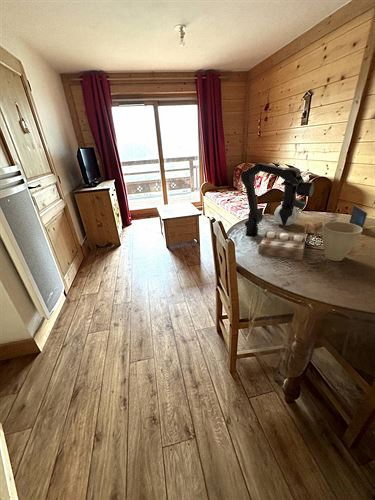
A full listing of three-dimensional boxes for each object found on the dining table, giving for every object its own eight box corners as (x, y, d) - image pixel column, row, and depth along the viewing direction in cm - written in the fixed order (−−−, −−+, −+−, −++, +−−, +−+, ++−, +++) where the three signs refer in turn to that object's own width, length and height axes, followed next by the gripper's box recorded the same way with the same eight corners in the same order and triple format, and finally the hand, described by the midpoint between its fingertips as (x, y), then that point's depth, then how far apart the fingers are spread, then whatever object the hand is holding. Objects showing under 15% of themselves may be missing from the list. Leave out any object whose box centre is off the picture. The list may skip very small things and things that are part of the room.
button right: (292, 243, 115) (293, 237, 114) (293, 240, 119) (294, 234, 117) (301, 244, 113) (302, 238, 112) (302, 241, 117) (303, 235, 115)
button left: (265, 239, 122) (266, 234, 120) (267, 236, 125) (267, 231, 124) (273, 240, 120) (274, 234, 118) (275, 237, 123) (275, 232, 122)
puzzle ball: (271, 226, 146) (273, 205, 139) (275, 220, 157) (278, 199, 151) (295, 229, 139) (299, 207, 132) (298, 222, 150) (302, 201, 143)
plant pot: (338, 268, 96) (347, 235, 89) (309, 255, 109) (315, 225, 101) (360, 259, 101) (370, 228, 94) (330, 248, 113) (337, 219, 106)
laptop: (327, 223, 144) (332, 204, 138) (349, 224, 141) (355, 204, 135) (336, 234, 129) (342, 213, 123) (361, 234, 126) (368, 213, 120)
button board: (258, 253, 115) (258, 244, 112) (266, 237, 131) (267, 230, 129) (302, 260, 105) (303, 251, 103) (304, 242, 122) (306, 234, 120)
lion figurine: (325, 236, 127) (329, 221, 123) (321, 238, 125) (324, 223, 121) (302, 229, 138) (304, 216, 134) (297, 231, 136) (299, 218, 132)
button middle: (278, 241, 118) (279, 235, 117) (279, 238, 122) (280, 232, 120) (287, 242, 116) (288, 236, 115) (288, 239, 120) (289, 233, 118)
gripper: (306, 199, 101) (300, 230, 108) (307, 190, 116) (301, 218, 123) (281, 198, 106) (276, 227, 113) (284, 189, 120) (280, 216, 128)
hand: (284, 222), depth 119 cm, fingers open, 9 cm apart
